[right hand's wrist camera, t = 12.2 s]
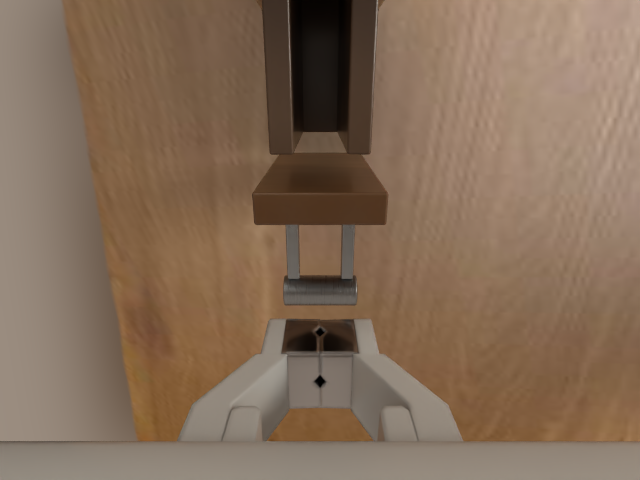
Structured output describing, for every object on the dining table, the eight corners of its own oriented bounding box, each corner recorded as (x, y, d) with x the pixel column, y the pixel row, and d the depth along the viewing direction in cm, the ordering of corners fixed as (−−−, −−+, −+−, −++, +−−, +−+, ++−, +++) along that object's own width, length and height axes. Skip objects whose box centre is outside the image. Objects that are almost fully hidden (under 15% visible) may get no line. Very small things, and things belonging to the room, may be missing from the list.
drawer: (356, 262, 24) (376, 358, 15) (284, 262, 24) (263, 358, 15) (377, -266, 15) (458, -774, 6) (262, -265, 15) (180, -773, 6)
